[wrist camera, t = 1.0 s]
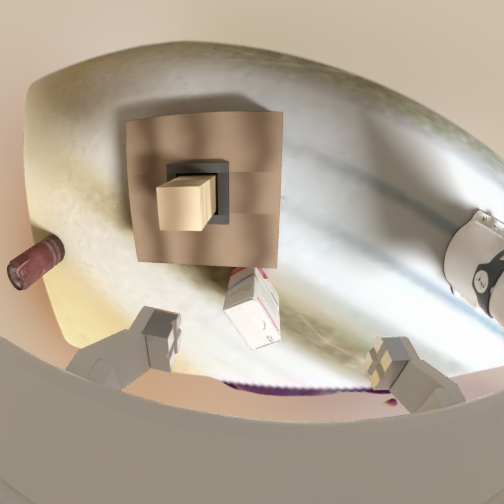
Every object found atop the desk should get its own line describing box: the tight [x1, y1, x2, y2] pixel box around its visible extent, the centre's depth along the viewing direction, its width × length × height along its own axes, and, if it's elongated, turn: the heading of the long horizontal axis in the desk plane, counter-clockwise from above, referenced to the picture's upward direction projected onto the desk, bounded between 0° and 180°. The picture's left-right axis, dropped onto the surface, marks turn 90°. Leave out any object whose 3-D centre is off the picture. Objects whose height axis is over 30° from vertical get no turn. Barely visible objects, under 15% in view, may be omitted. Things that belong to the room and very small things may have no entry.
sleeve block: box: [125, 111, 283, 268], centre depth 36 cm, size 20×20×9 cm
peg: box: [156, 174, 218, 231], centre depth 30 cm, size 4×4×9 cm
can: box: [7, 236, 65, 291], centre depth 40 cm, size 6×6×14 cm
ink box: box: [223, 267, 281, 350], centre depth 41 cm, size 9×5×12 cm, turn 29°
